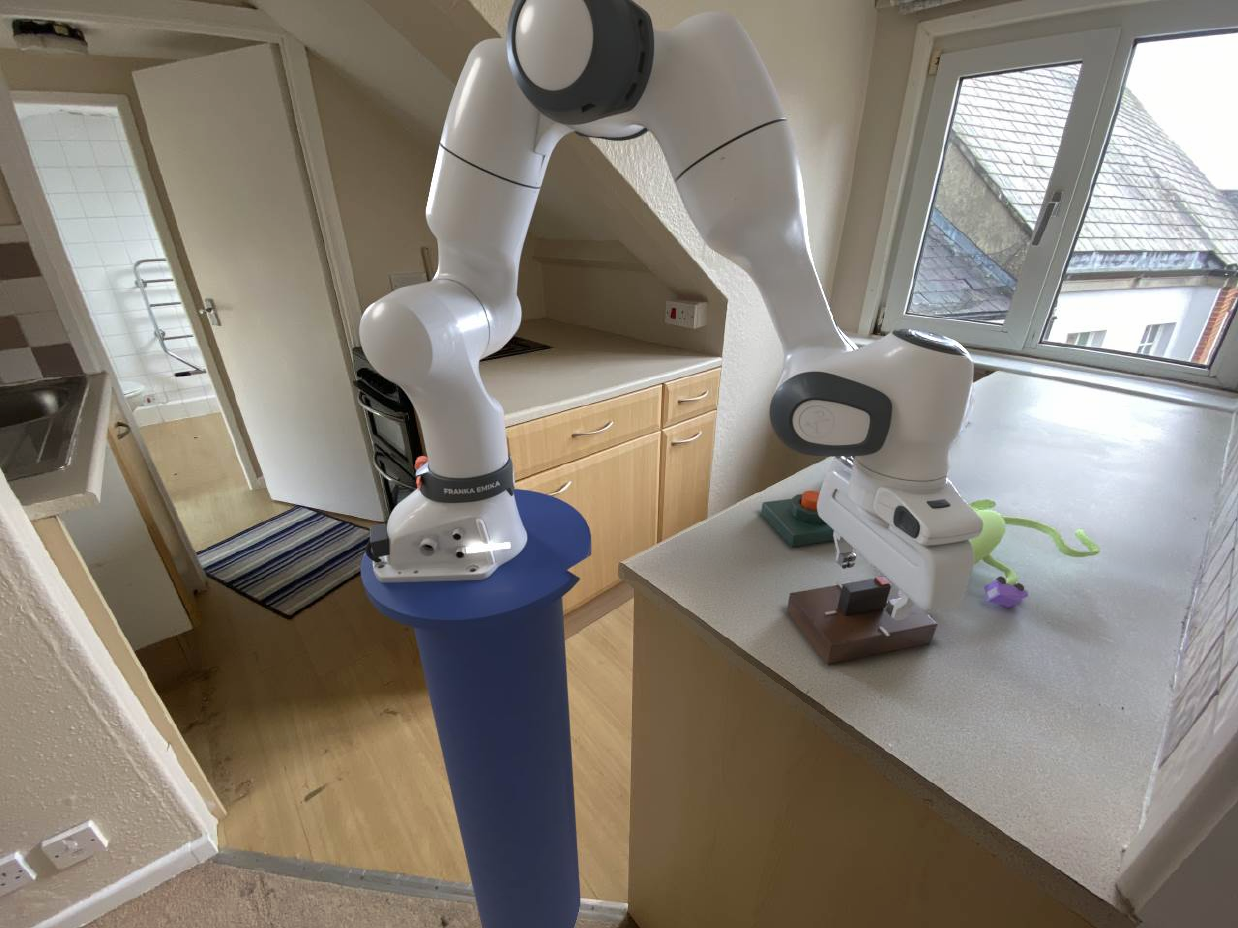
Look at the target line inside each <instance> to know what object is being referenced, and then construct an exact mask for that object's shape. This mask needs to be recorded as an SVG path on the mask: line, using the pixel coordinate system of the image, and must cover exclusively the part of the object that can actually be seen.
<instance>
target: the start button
mask: <svg viewBox="0 0 1238 928" xmlns="http://www.w3.org/2000/svg"><path fill="white" fill-rule="evenodd" d="M802 494H803V495H802V500H801V505H802V506H803V507H805V508H807V509H809V510H816V511H817V502H818V498H819V494H820V491H818V490H806V491H804V492H803V493H802Z"/></svg>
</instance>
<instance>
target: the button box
mask: <svg viewBox="0 0 1238 928" xmlns="http://www.w3.org/2000/svg"><path fill="white" fill-rule="evenodd" d="M802 495H803V493H798V494H796V495H794V496H792V497H791V498H785V499H779V500H771V501H763V502H762V505H761V511H760V512H761V513H760V514H761V515H762V516H763V517H764V518H765V520H767V521H768V522H769V524H770V525H771V526H772V528H774V529H775V531H777V533H778V534H779V535H780V536H781V537H782V538H783V539H784V540H785V541H786V542H787V543H788V544H789V545H790V547H791V548H793V547H800V546H807V545H814V544H822V543H827V542H835V541H834V537H833V533H834V530H833V529H832V528H831V527H830V526H829V525H828V524H827V523H826V522H824V521H823V520H822V519H821V518H820V517H819V515H818V511H816V510H809V509H807V508H805V507H803V506H802V505H801V500H802Z"/></svg>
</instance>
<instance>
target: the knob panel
mask: <svg viewBox="0 0 1238 928" xmlns="http://www.w3.org/2000/svg"><path fill="white" fill-rule="evenodd" d="M883 577H884V578H885V579H886V580H887V581H888V582H889V583H890V584H891V589H890V592H889V596H888V599H887V603H888V600H891V599H895V600H896V599H897V598H902V597H900V596H899V595H898V592H899V589H898V588H897V587H896V586H895V585H894V584H893V583H892V582H891V581H890V580H888V579H887V578H886V577H885V576H883ZM875 578H876V577H875ZM875 578H873V579H875ZM852 582H853V581H851V582H850V583H852ZM835 583H836V584H835V585H829V586H824V587H818V588H811V589H806V590H805V589H804V590H801V591H793V592H790V593H789V597H788V602H787V606H786V607H787V608H786V613H787V614H788V615H789V616H790V618H791V620H793V622H795V624H796V626H797V627H798V628H799V630H800V631H801V632H802V634H803V635H804V636H805V638H806V639H807V640H808V642H809V643H810V644H811V645H812V646H813V648H814V649H815V651H816V652H817V653H818V655H819V656H820V657H821V658H822V660H823V661H824V662H825V664H826V665H830V664H836V663H840V662H845V661H849V660H854V659H859V658H864V657H869V656H874V655H878V654H883V653H889V652H892V651H898V650H902V649H907V648H908V649H909V648H912V647H917V646H921V645H926V644H930V643H932V641H933V638H934V636H935V633H936V630H937V628H938V622H936V621H935V620H934V619H933V618H932V616H930V615H929V614H928V613H927V612H924V611H923V610H921V609H920V608H919V607H918V606H917V605H914V606H912V607H911V609H910V612H909V615H908V617H907V618H906V619H902V620H897V621H896V620H894V619H893V618H892V617H891V616H890V615H889V614H888V613H887V612H886V608H887V603H886V606H885V608H882V609H877V610H871V611H866V612H861V613H855V614H850V615H845V614H844V613H843V612H842V611H841V610H840V609H839V608H838V602H839V598H840V594H841V590H842V586H843V584H844V583H841V582H840V581H836V582H835Z"/></svg>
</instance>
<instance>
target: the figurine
mask: <svg viewBox="0 0 1238 928" xmlns="http://www.w3.org/2000/svg"><path fill="white" fill-rule="evenodd" d="M968 505H969V506H970V507H971V508H972V509H973V510H974V511H975V512H976V513H977V514H978V515H979V517H980V518H981V519H982V521H983V529H982V532H981V534H980V535H979V536H978V537H976V538H972V539H969V541H970V542H971V544H972V546H973V549H974V565H976V564H977V563H979V562H980V561H983V562H984V563H985V564H987V565H989V566H991V567H993V568H995V569H997V570H999V571H1000V572H1003V573H1004V575H1005V577H1004V576H997V577H996V578H995V580H994V581H992V582H990V583H988V584H987V585H986V584H985V585H984V586H983V587H984V591H985V596H986V600H987V602H989V603H992V604H995V605H998V606H1001V607H1005V608H1012V607H1014V606H1016V605H1019V604H1020V603H1022V600H1023V599H1025V598H1026V597H1029V592H1028V590H1025V586H1024V585H1023V584H1022V583H1020V582H1018V577H1017V574H1016V571H1015V570H1013V569H1012V568H1010V567H1009V566H1008V565H1005V564H1004V563H1003V562H1001V561H999V560H997V559H996V558H994V557H993V556H992V555H991V554H992V552H993V551H994V550H995V549H996V548H997V547H998V546H999V545H1000V543H1001V542H1002V539H1003V537H1004V535H1005V533H1006V525H1010V526H1018V527H1025V528H1030V529H1034V530H1036V531H1040V532H1042V533H1043V534H1044V533H1045V534H1046V535H1049V536H1050V537H1051V539H1052V540H1053V542H1054V546H1055V547H1056V548H1057V550H1058V552H1060V553H1062V554H1063V555H1065V556H1068V557H1072V558H1084V557H1085V558H1086V557H1093V556H1096V555H1097V554H1099V553H1100V552H1101V547H1100V546H1099V545H1098V544H1097V543H1095V541H1093V540H1092V539H1091V538H1089V536H1088V535H1087V534H1086V531H1085V530H1084V529H1082V528H1078V529H1076V530H1075V532H1074V534H1075V535H1074V536H1075V537H1076V538H1077V539H1078V540H1079V542H1080V543H1081V544H1082V545H1084V546H1085V547H1086V548H1087V549H1088V551H1086V550H1085V551H1083V550H1078V549H1075V548H1072V547H1071V546H1068V545H1067V544H1066V543H1065V541H1064V539H1063V536H1062V534H1061V533H1060V531H1059V530H1057V528H1055V527H1053V526H1051V525H1048V524H1046V523H1043V522H1040V521H1036V520H1033V519H1029V518H1022V517H1015V516H1006V515H1005V516H1004V515H1002V514H1001V513H1000V512H998V511H996V510H992V508H995V506H996V505H997V504H996V501H994V500H992V499H981V500H975V501H973V502H971V503H968Z"/></svg>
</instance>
